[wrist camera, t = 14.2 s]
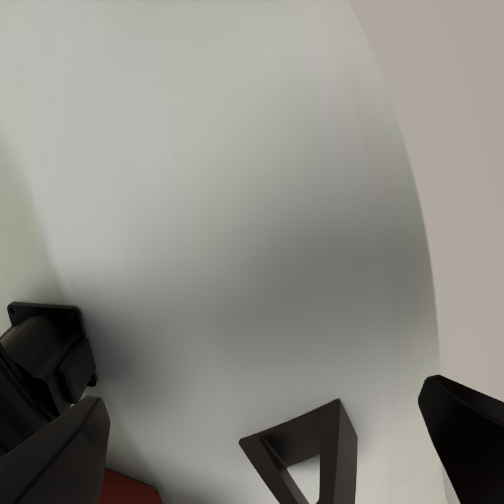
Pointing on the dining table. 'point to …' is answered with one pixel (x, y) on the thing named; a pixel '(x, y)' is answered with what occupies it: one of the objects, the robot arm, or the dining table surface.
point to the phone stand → (308, 454)
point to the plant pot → (125, 491)
